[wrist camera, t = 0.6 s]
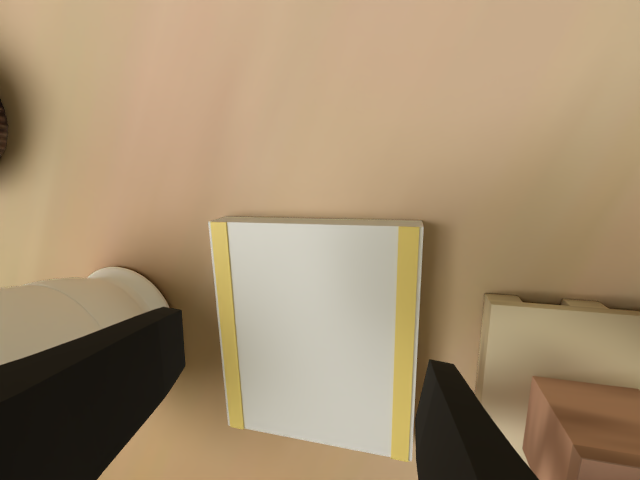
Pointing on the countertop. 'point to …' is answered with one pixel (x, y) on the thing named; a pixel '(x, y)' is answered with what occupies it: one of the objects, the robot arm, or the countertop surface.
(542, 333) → the beige rectangular slab
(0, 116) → the cupcake
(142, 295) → the jar
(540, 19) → the countertop surface
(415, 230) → the dock
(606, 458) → the brown cube
